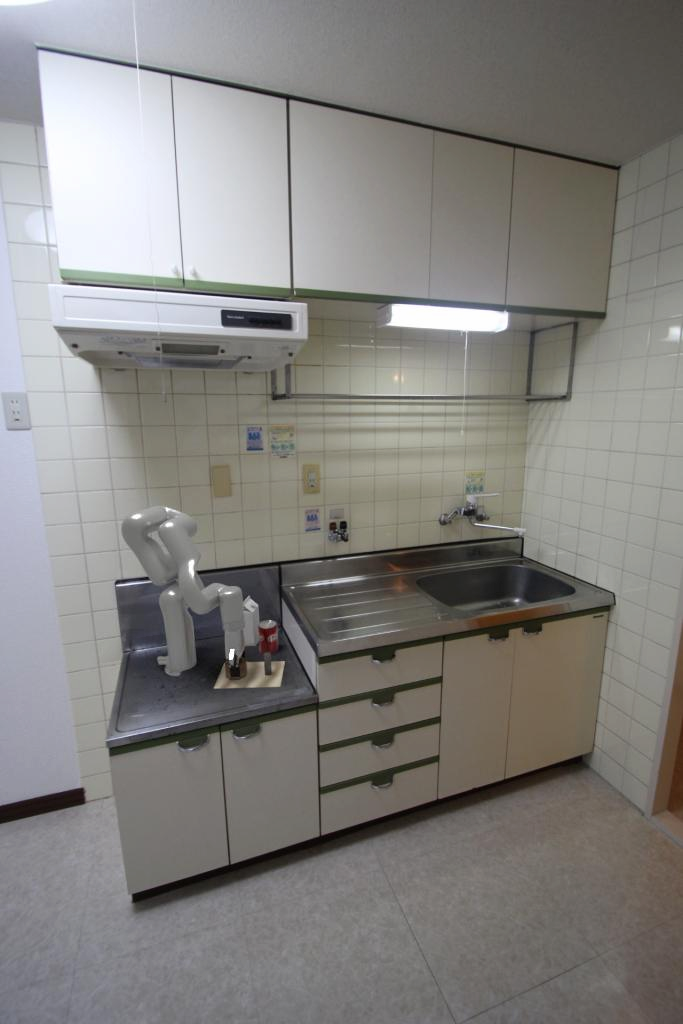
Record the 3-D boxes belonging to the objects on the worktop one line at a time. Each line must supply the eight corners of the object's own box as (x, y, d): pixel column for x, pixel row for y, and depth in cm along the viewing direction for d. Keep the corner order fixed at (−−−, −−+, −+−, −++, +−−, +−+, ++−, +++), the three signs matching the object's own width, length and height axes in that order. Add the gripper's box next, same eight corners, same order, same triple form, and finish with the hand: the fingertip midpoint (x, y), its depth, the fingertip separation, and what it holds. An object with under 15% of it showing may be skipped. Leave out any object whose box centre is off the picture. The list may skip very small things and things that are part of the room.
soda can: (280, 648, 182) (279, 620, 180) (276, 658, 175) (274, 628, 173) (262, 647, 183) (260, 619, 180) (257, 657, 176) (255, 628, 173)
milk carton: (237, 647, 184) (234, 602, 180) (244, 638, 191) (241, 594, 187) (254, 648, 183) (251, 603, 179) (260, 639, 190) (258, 595, 185)
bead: (224, 680, 159) (223, 667, 158) (228, 669, 165) (227, 656, 164) (244, 679, 159) (243, 666, 158) (248, 668, 165) (247, 656, 164)
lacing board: (213, 692, 154) (211, 668, 152) (224, 666, 170) (222, 643, 168) (280, 690, 155) (279, 666, 153) (285, 664, 170) (284, 642, 168)
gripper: (228, 612, 166) (232, 656, 170) (216, 635, 149) (221, 683, 153) (249, 611, 166) (253, 655, 170) (239, 634, 149) (244, 682, 153)
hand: (238, 668), depth 161 cm, fingers open, 9 cm apart
